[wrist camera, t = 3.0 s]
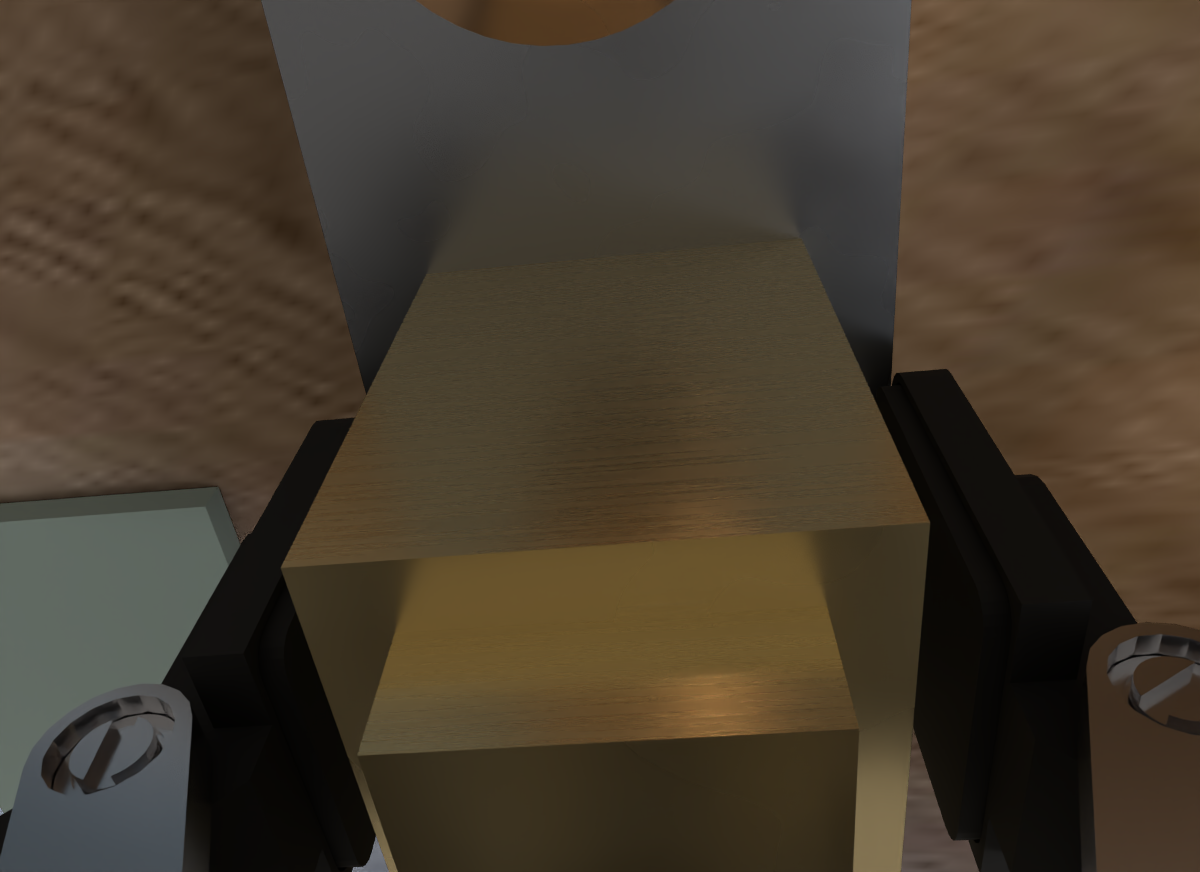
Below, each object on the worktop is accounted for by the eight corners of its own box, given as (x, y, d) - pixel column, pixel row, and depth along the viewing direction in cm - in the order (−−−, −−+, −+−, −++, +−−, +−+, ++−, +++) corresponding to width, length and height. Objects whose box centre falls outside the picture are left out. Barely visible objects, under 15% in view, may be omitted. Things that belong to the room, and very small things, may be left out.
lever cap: (802, 238, 10) (1025, 733, 4) (801, 659, 13) (932, 1271, 7) (426, 273, 10) (177, 775, 5) (512, 676, 13) (426, 1275, 8)
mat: (218, 486, 17) (205, 506, 16) (355, 848, 22) (348, 872, 21) (-155, 515, 17) (-178, 535, 17) (64, 861, 22) (51, 885, 22)
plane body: (838, -432, 10) (1085, -781, 5) (821, 731, 19) (897, 1082, 14) (297, -352, 11) (-63, -583, 5) (530, 747, 20) (491, 1091, 14)
